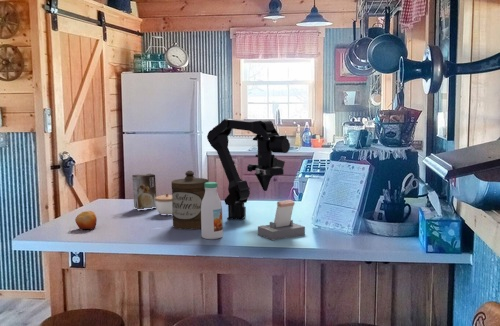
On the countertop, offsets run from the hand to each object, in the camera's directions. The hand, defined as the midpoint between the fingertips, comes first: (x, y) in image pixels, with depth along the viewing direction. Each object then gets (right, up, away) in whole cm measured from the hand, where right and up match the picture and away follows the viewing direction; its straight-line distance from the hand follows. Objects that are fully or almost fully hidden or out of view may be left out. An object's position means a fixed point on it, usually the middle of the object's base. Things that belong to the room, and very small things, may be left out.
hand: (265, 190), depth 216 cm
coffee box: (-55, -10, +33) cm, 65 cm away
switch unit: (+5, -15, -18) cm, 24 cm away
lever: (+5, -12, -19) cm, 23 cm away
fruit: (-70, -15, -4) cm, 72 cm away
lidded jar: (-42, -12, +21) cm, 49 cm away
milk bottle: (-20, -16, -20) cm, 32 cm away
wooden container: (-29, -14, -1) cm, 33 cm away
